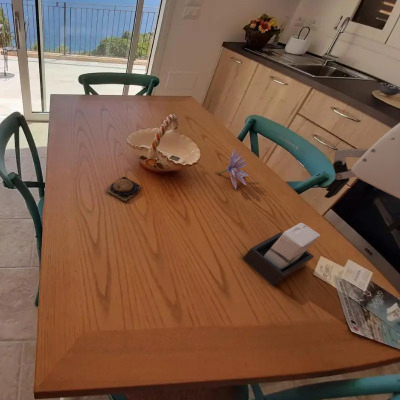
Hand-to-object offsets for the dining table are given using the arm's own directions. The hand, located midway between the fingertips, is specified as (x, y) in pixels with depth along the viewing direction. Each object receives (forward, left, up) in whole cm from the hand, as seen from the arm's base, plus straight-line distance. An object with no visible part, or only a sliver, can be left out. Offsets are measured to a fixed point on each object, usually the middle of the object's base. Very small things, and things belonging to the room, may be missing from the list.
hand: (357, 211), depth 49 cm
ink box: (+5, -6, -26) cm, 27 cm away
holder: (+5, -6, -27) cm, 28 cm away
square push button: (+47, +14, -27) cm, 56 cm away
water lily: (+35, -26, -27) cm, 51 cm away
